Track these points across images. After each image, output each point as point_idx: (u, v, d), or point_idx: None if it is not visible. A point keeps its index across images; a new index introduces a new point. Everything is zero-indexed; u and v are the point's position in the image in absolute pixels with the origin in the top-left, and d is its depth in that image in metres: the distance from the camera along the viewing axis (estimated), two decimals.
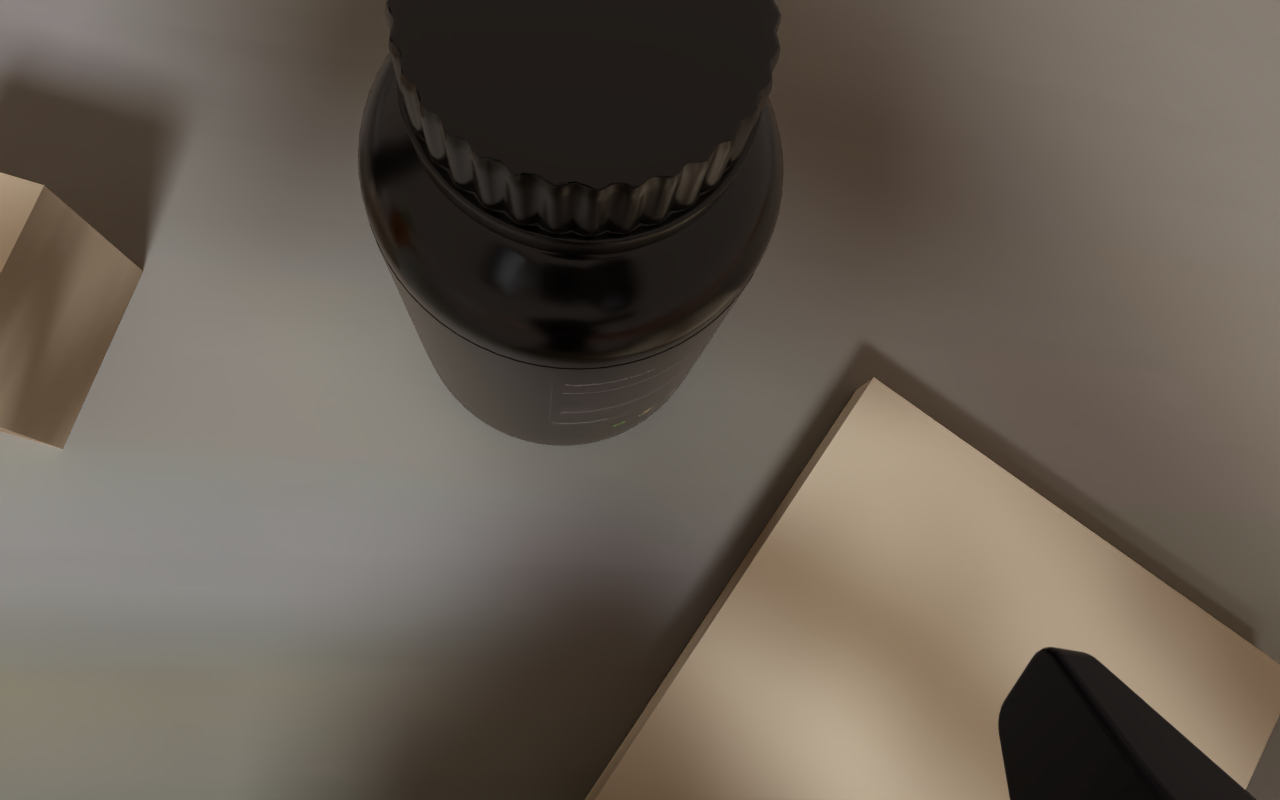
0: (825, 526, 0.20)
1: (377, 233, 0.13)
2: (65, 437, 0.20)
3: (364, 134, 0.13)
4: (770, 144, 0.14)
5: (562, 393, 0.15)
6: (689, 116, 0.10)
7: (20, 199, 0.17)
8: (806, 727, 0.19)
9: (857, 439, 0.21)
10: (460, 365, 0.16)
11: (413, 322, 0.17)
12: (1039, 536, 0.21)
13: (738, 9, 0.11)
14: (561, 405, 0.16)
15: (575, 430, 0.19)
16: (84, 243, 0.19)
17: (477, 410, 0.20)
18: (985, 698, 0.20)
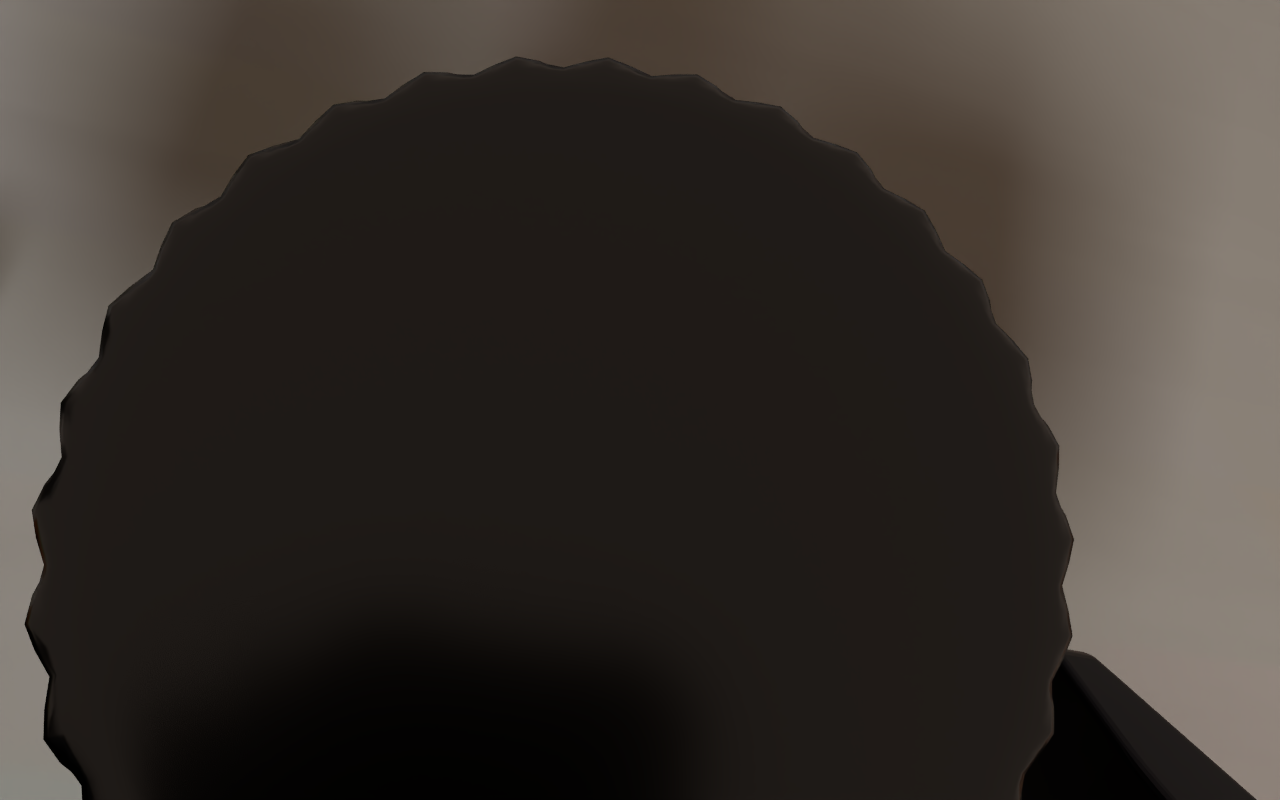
0: None
1: None
2: None
3: None
4: None
5: None
6: None
7: None
8: None
9: None
10: None
11: None
12: None
13: (976, 532, 0.04)
14: None
15: None
16: None
17: None
18: None
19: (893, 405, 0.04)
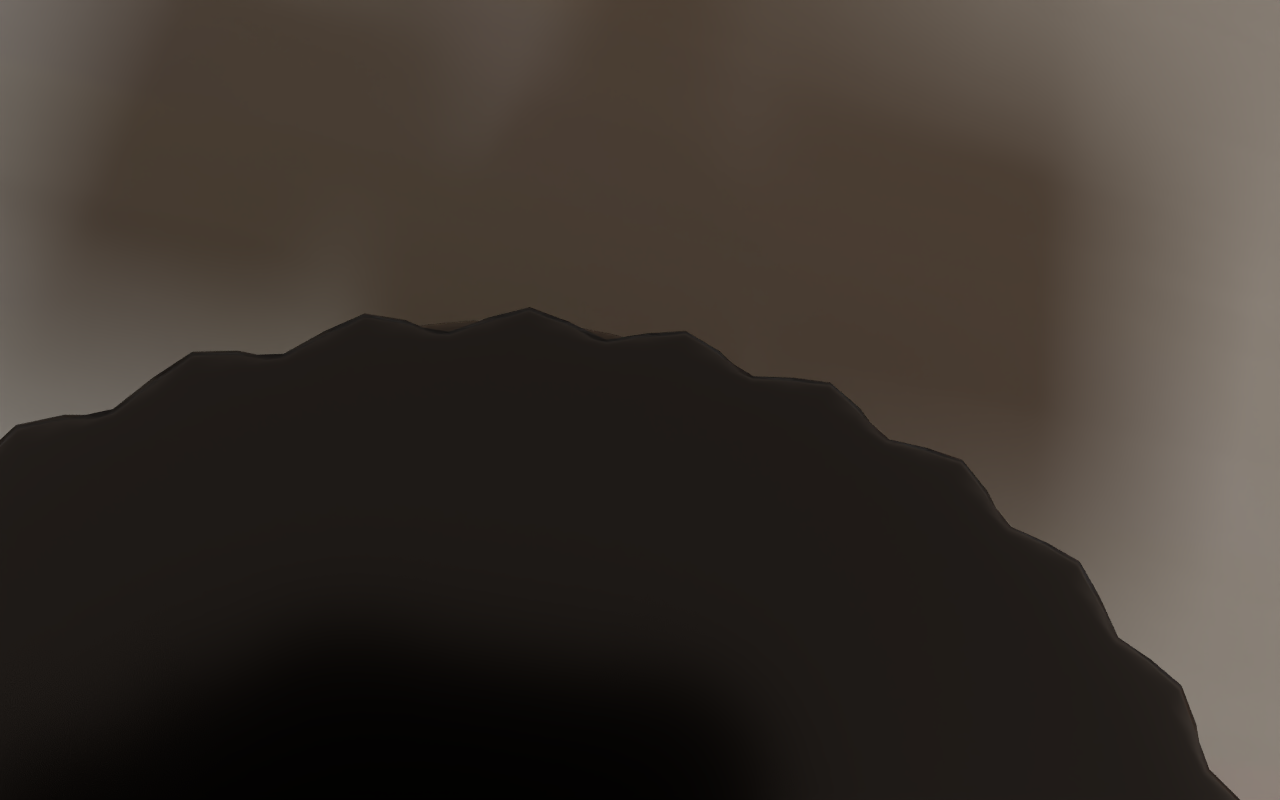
0: None
1: None
2: None
3: None
4: None
5: None
6: None
7: None
8: None
9: None
10: None
11: None
12: None
13: None
14: None
15: None
16: None
17: None
18: None
19: None
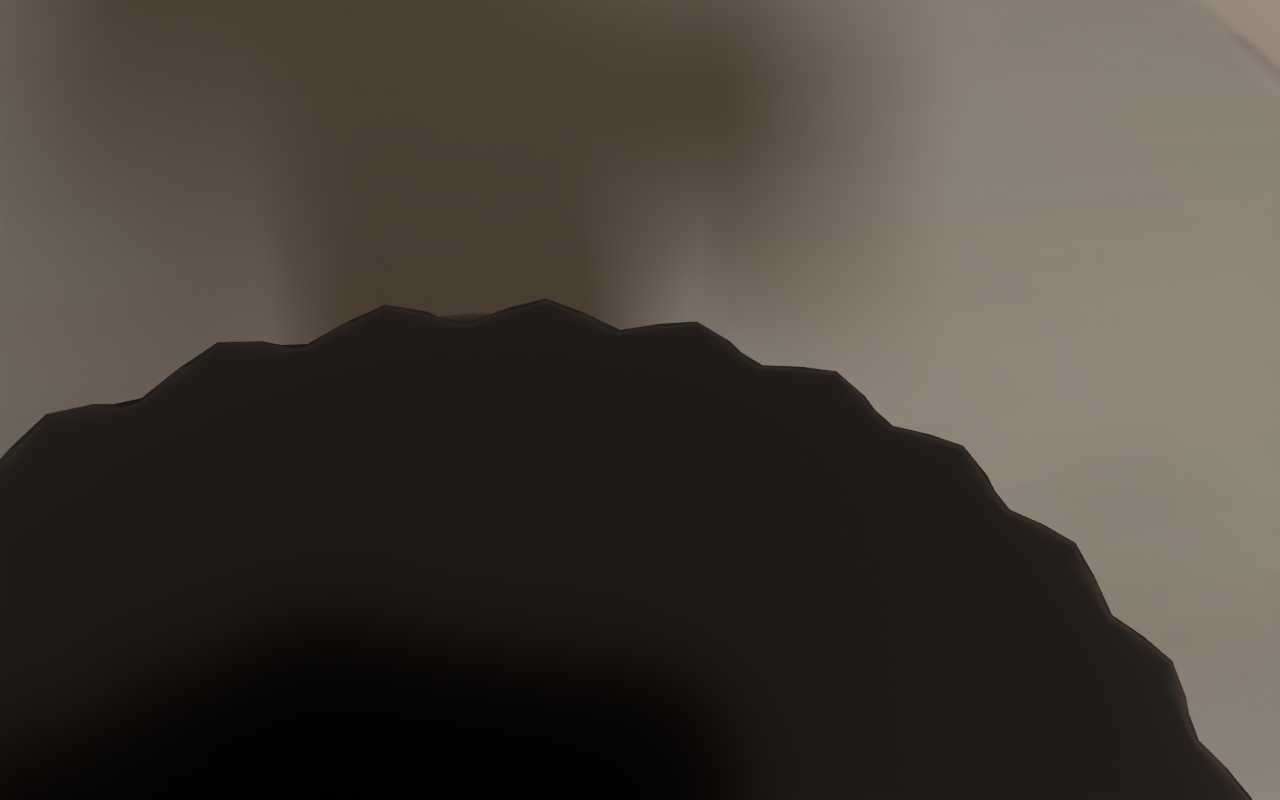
0: None
1: None
2: None
3: None
4: None
5: None
6: None
7: None
8: None
9: None
10: None
11: None
12: None
13: None
14: None
15: None
16: None
17: None
18: None
19: None
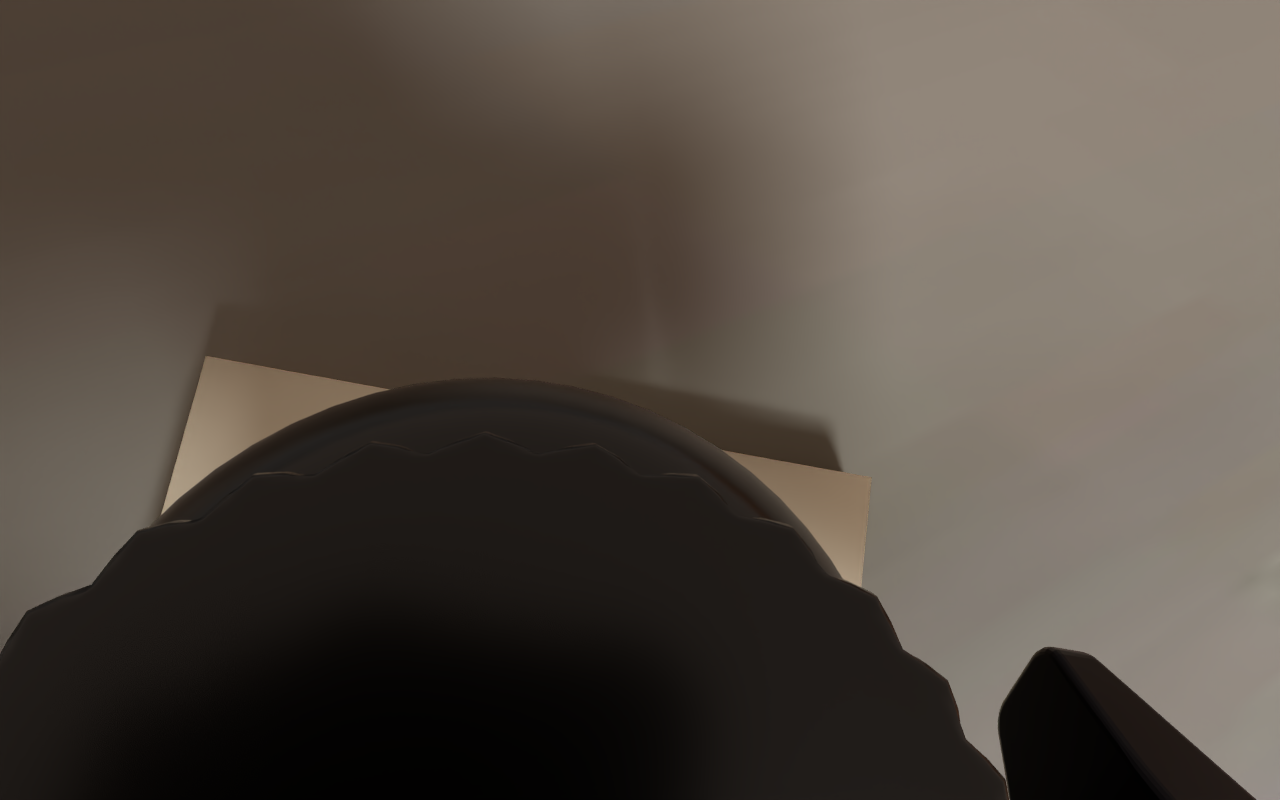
0: None
1: None
2: None
3: None
4: None
5: None
6: None
7: None
8: None
9: (211, 448, 0.15)
10: None
11: None
12: None
13: None
14: None
15: None
16: None
17: None
18: None
19: None
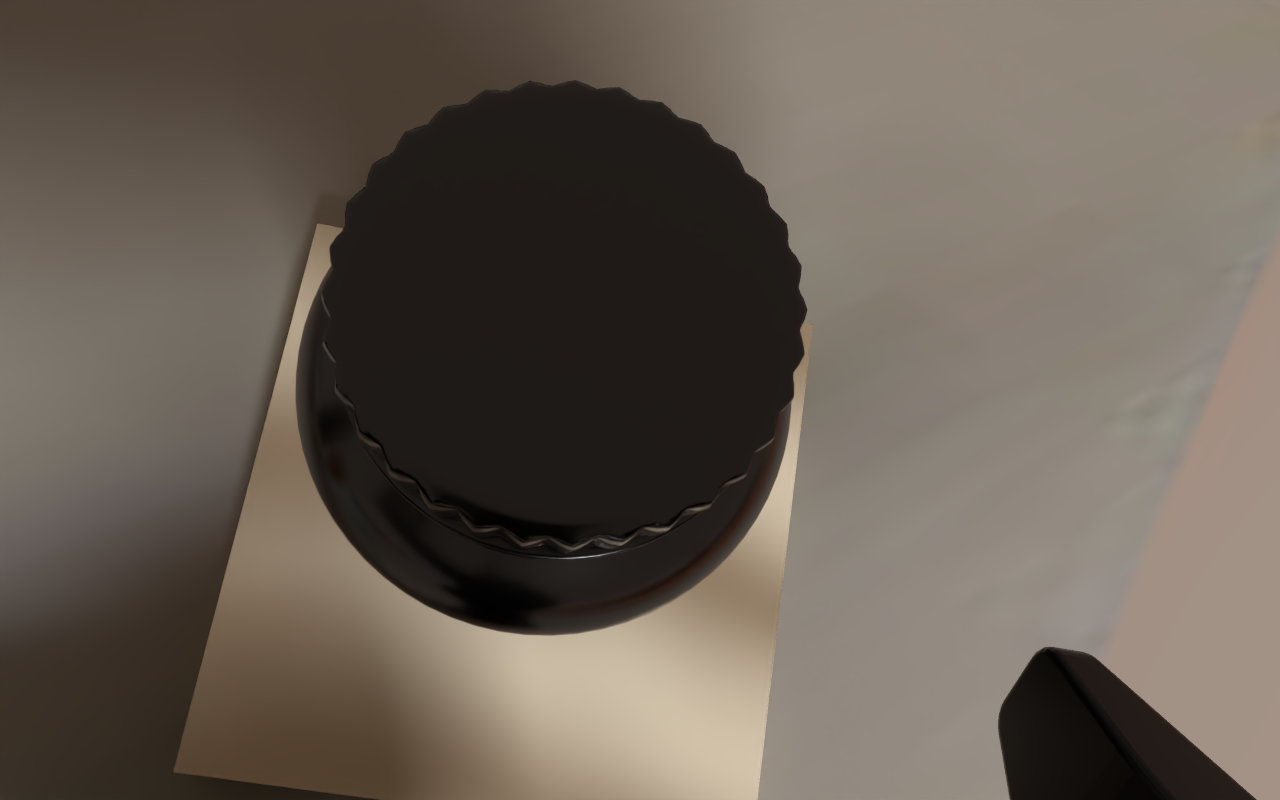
0: None
1: (313, 479, 0.11)
2: None
3: (302, 361, 0.11)
4: None
5: None
6: (692, 447, 0.08)
7: None
8: (371, 575, 0.19)
9: None
10: None
11: None
12: None
13: (756, 304, 0.09)
14: None
15: None
16: None
17: None
18: None
19: (716, 245, 0.09)
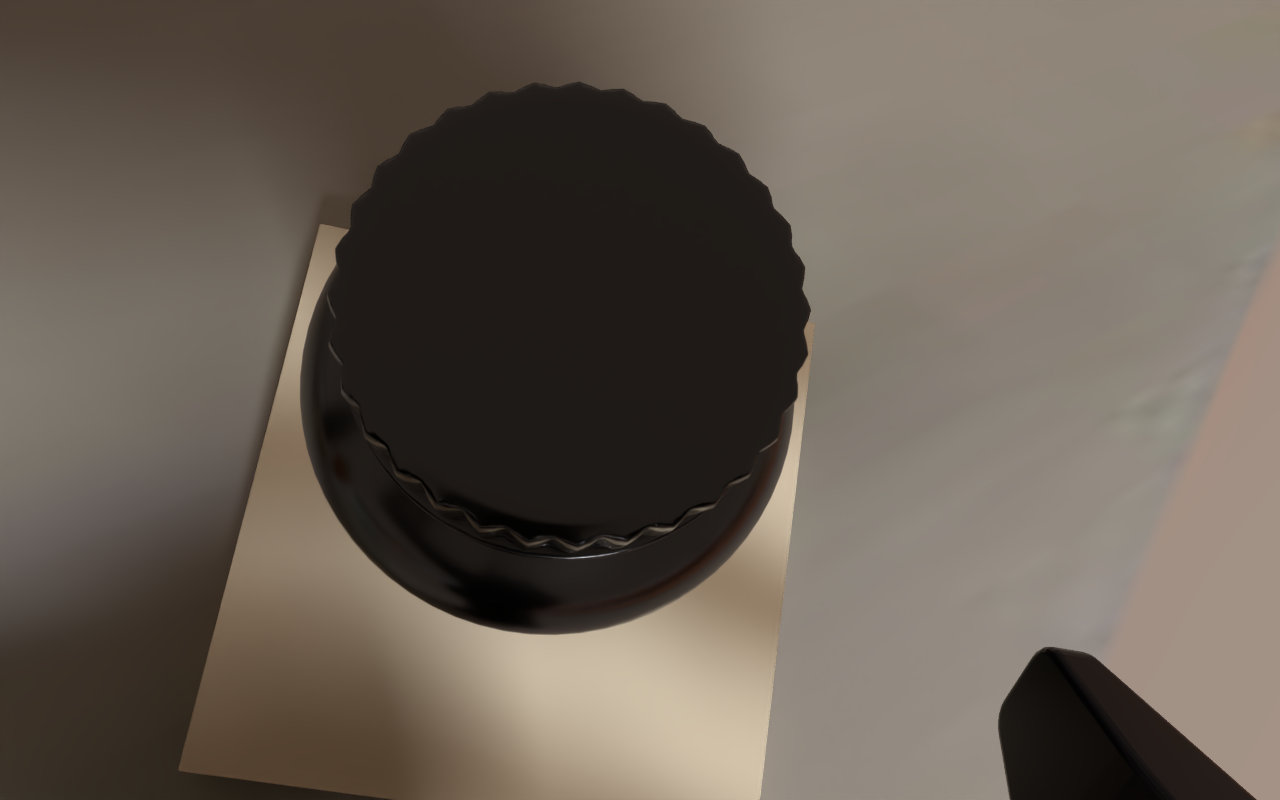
0: None
1: (318, 479, 0.11)
2: None
3: (307, 362, 0.11)
4: None
5: None
6: (696, 447, 0.09)
7: None
8: (374, 575, 0.19)
9: None
10: None
11: None
12: None
13: (761, 305, 0.09)
14: None
15: None
16: None
17: None
18: None
19: (721, 246, 0.09)
